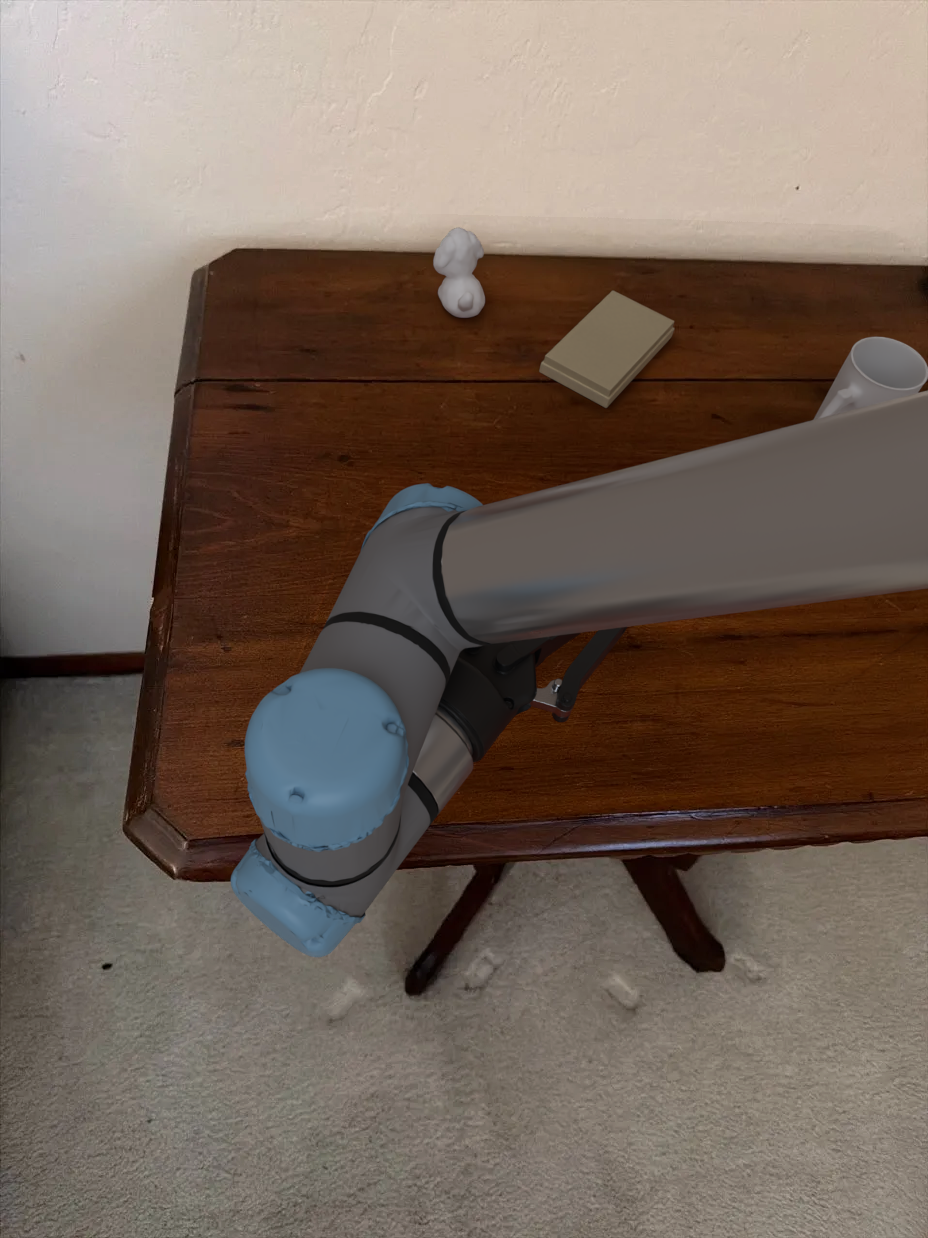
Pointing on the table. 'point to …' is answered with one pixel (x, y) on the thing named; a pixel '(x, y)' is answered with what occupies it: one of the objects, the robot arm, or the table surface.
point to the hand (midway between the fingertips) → (606, 514)
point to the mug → (875, 376)
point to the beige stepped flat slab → (607, 348)
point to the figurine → (460, 273)
